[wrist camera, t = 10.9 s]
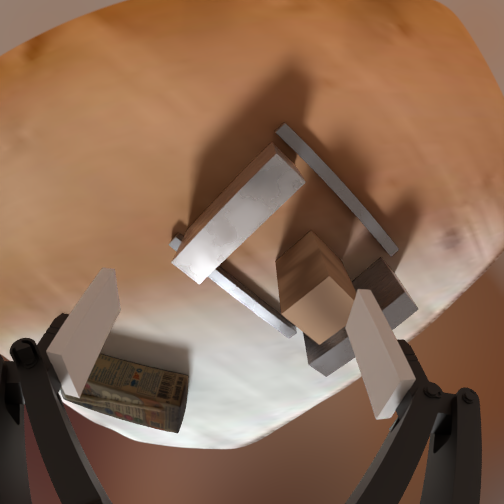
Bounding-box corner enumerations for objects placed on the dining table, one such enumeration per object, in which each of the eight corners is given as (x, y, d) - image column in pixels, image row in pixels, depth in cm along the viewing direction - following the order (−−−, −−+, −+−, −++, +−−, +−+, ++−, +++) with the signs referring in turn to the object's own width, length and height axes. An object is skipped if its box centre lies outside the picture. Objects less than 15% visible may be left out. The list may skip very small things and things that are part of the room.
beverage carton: (67, 340, 40) (49, 370, 34) (191, 371, 42) (184, 409, 36) (75, 374, 44) (61, 403, 38) (187, 403, 45) (181, 437, 39)
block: (306, 289, 35) (319, 344, 27) (275, 261, 33) (281, 314, 25) (341, 260, 33) (364, 311, 25) (311, 229, 32) (329, 275, 24)
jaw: (187, 229, 32) (171, 262, 26) (271, 141, 28) (276, 153, 22) (209, 247, 33) (199, 284, 27) (294, 164, 29) (305, 182, 23)
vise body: (171, 239, 32) (152, 274, 26) (284, 122, 27) (292, 127, 21) (304, 344, 39) (311, 386, 32) (408, 261, 33) (434, 295, 27)
